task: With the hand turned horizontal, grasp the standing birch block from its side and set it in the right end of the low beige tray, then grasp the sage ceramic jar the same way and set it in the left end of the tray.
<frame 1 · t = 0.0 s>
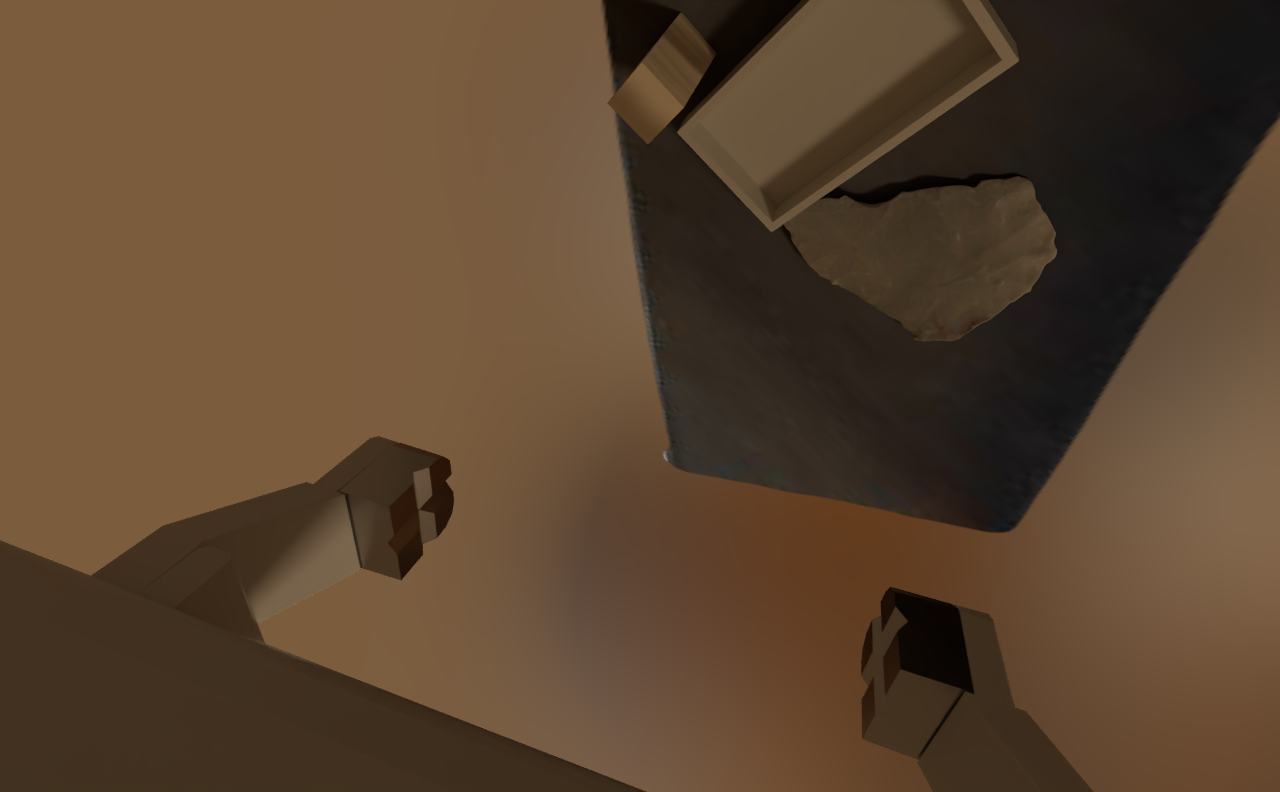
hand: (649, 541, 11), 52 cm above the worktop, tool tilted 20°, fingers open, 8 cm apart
stone tool: (906, 241, 61), on the worktop
beige tray: (831, 83, 52), on the worktop
birch block: (682, 52, 54), on the worktop
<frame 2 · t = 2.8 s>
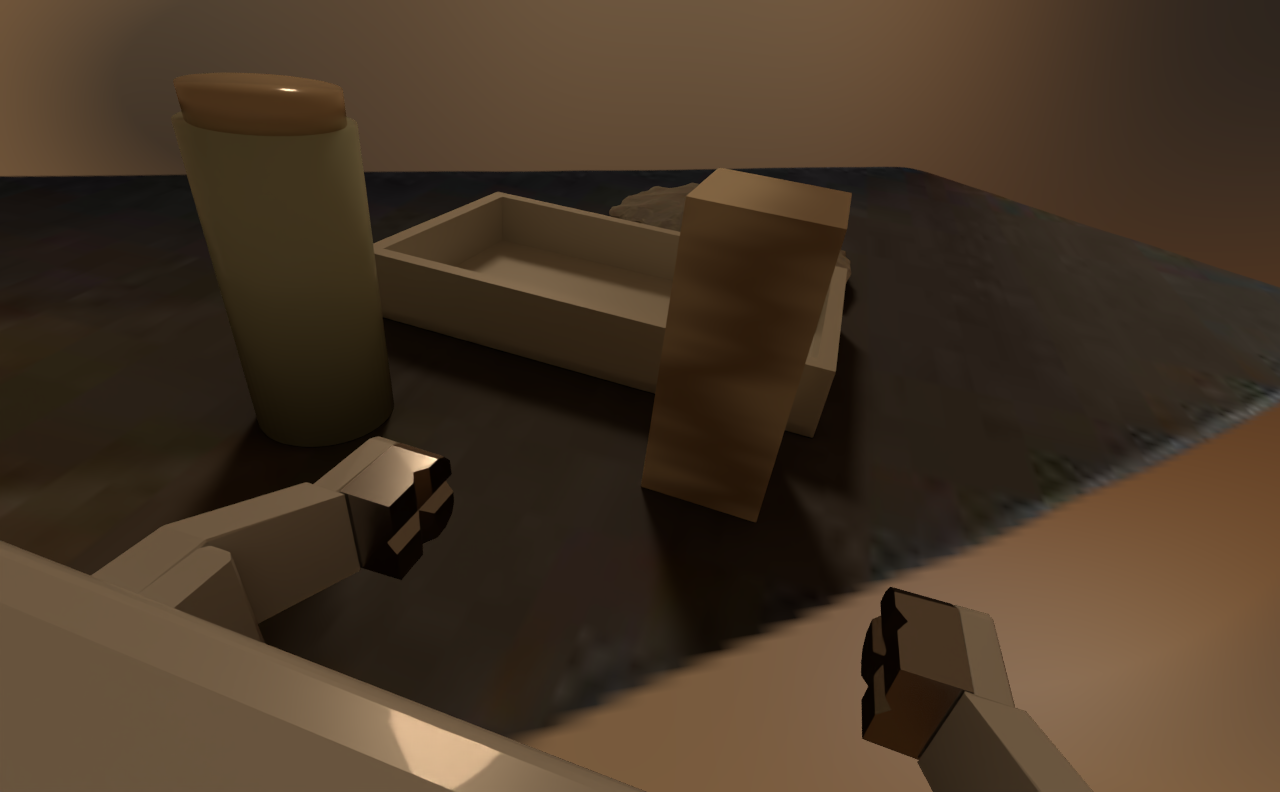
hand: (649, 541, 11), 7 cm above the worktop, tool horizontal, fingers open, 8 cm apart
stone tool: (739, 253, 49), on the worktop
beige tray: (619, 317, 35), on the worktop
birch block: (710, 468, 24), on the worktop
sage jar: (328, 408, 25), on the worktop
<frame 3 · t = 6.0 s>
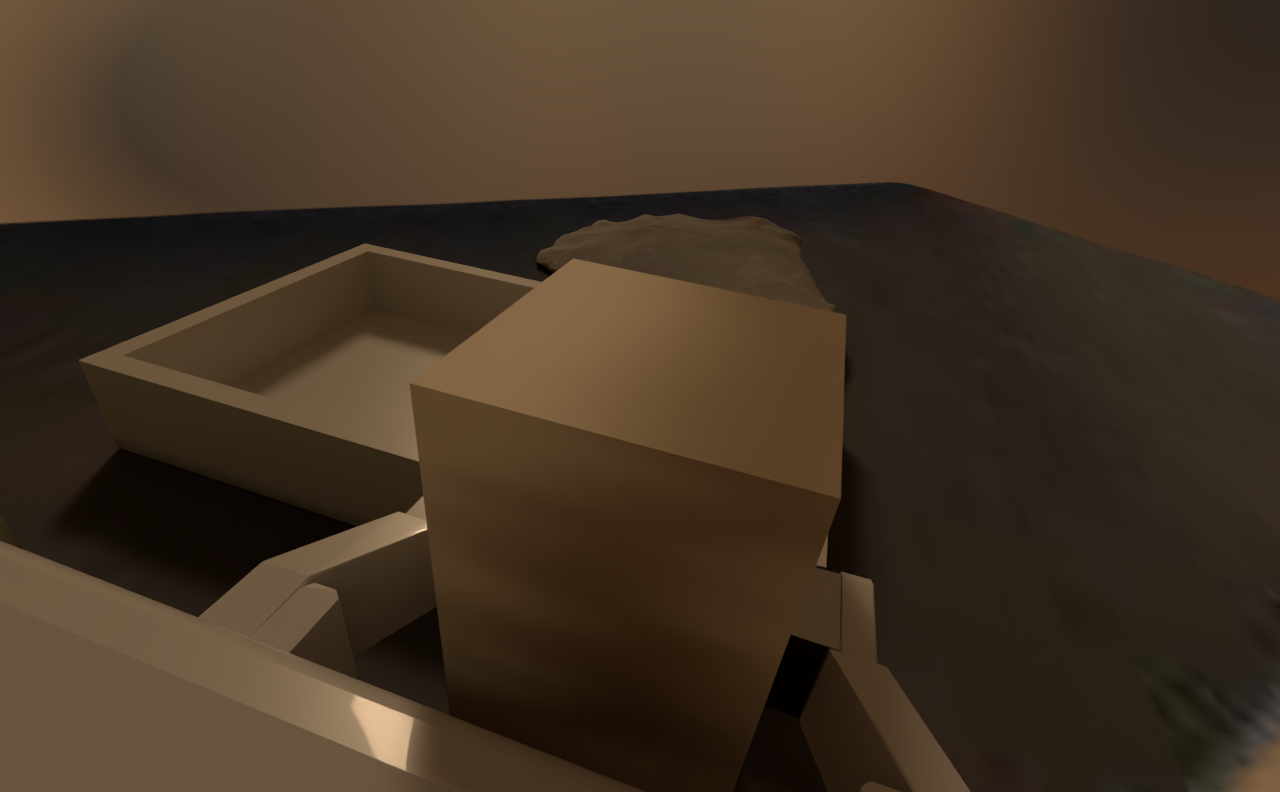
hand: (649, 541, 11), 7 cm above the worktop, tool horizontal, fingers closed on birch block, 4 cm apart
stone tool: (700, 307, 38), on the worktop
beige tray: (514, 428, 24), on the worktop
birch block: (607, 773, 14), on the worktop, touching gripper
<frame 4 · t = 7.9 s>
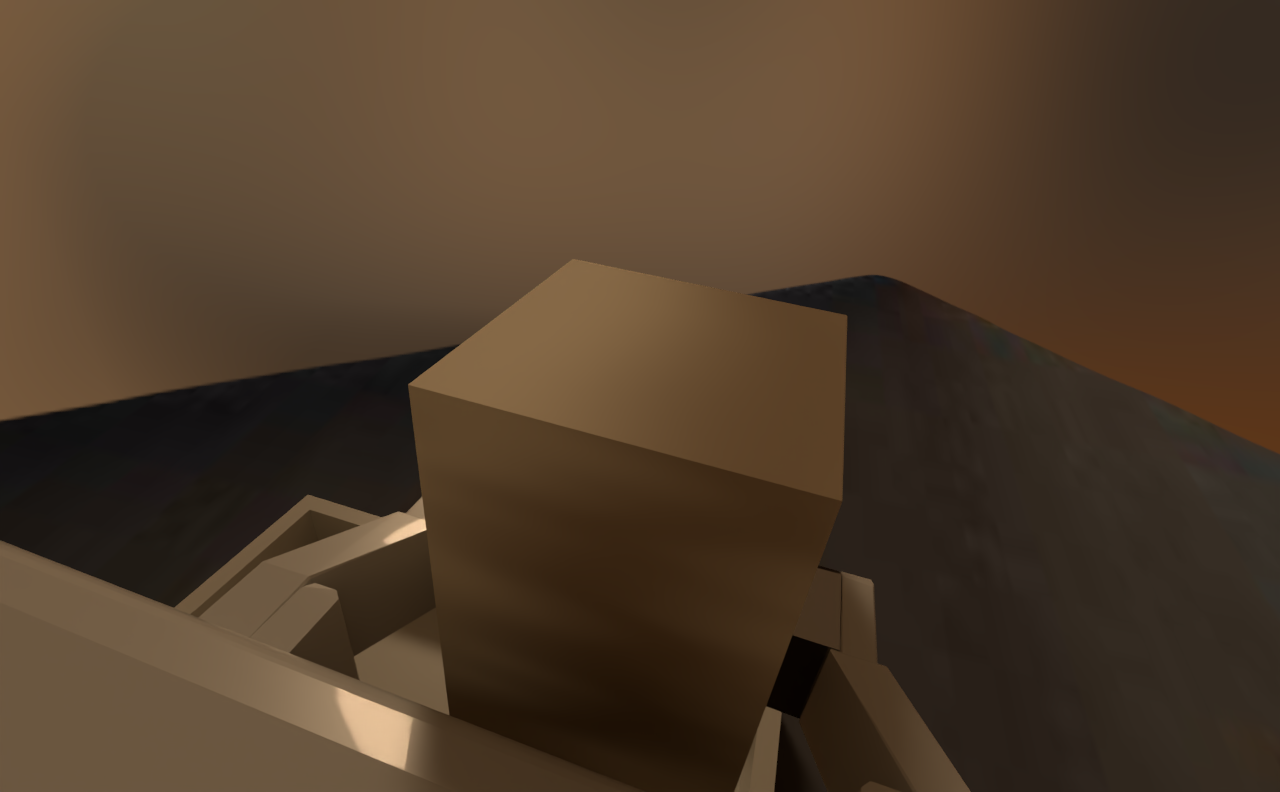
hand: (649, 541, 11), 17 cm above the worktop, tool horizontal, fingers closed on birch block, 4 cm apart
beige tray: (452, 749, 23), on the worktop
birch block: (607, 775, 14), point 10 cm above the worktop, touching gripper
when the fingers open (9 cm above the worktop, at t = 10.1 s): birch block drops 1 cm, resting on beige tray.
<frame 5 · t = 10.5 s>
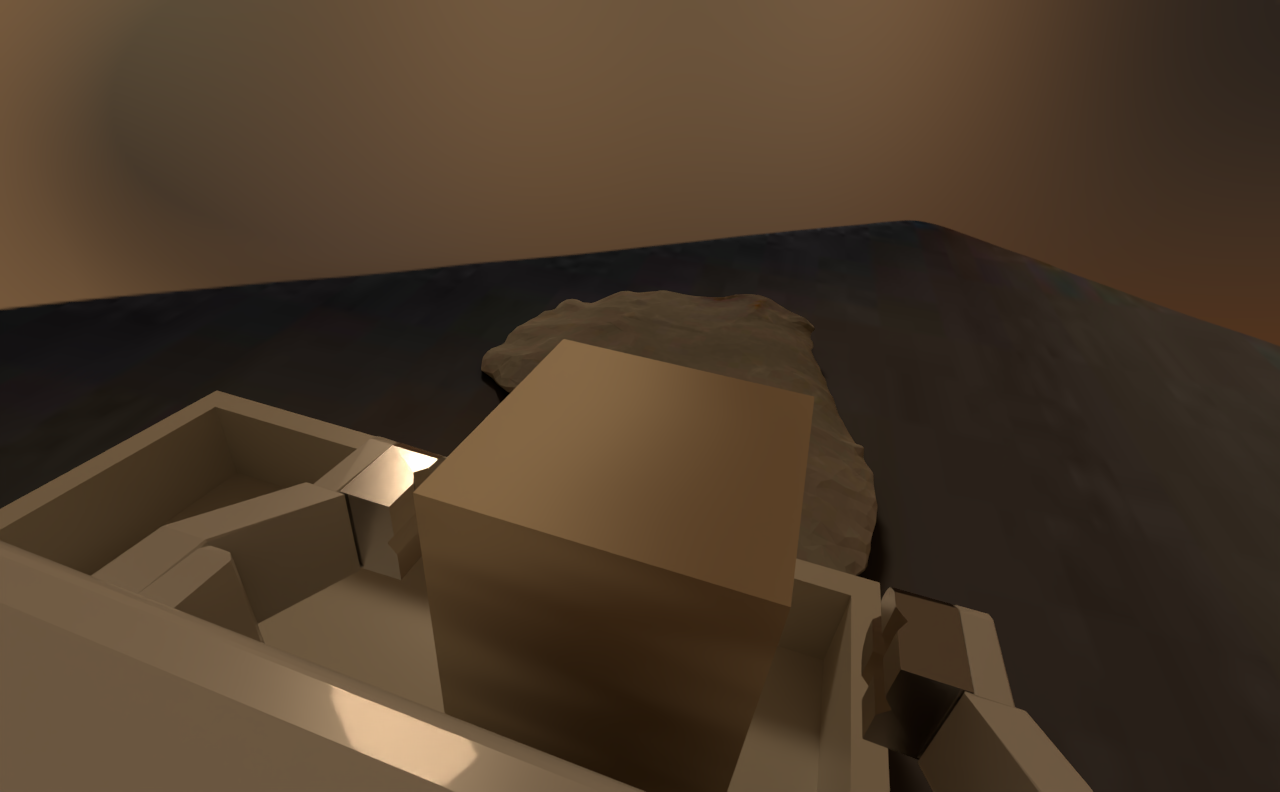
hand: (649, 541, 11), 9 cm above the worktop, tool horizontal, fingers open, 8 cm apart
stone tool: (687, 431, 30), on the worktop
beige tray: (389, 729, 16), on the worktop
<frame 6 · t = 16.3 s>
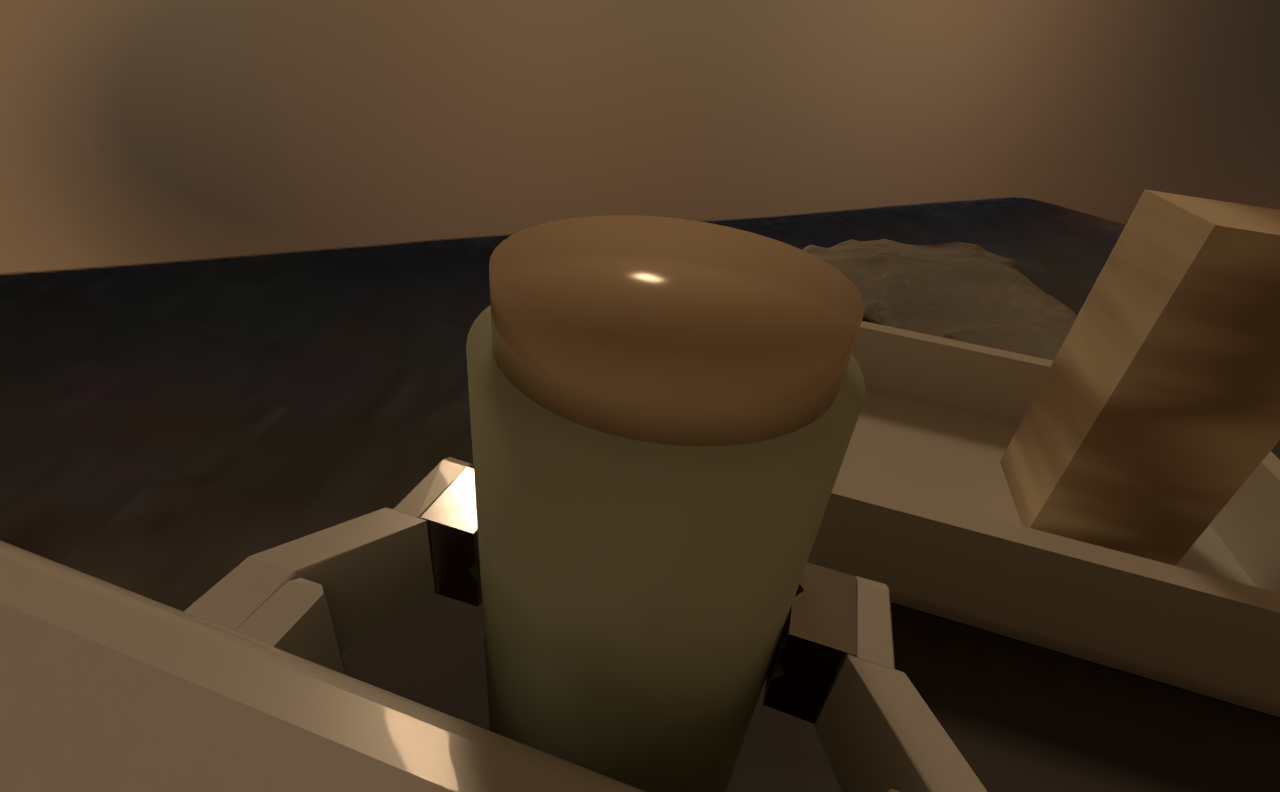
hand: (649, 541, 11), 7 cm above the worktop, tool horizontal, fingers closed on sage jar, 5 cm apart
stone tool: (951, 337, 38), on the worktop
beige tray: (906, 478, 24), on the worktop
birch block: (1075, 511, 23), resting on beige tray
sage jar: (607, 774, 14), on the worktop, touching gripper
when the fingers open (9 cm above the worktop, at t = 20.7 s): sage jar drops 1 cm, resting on beige tray.
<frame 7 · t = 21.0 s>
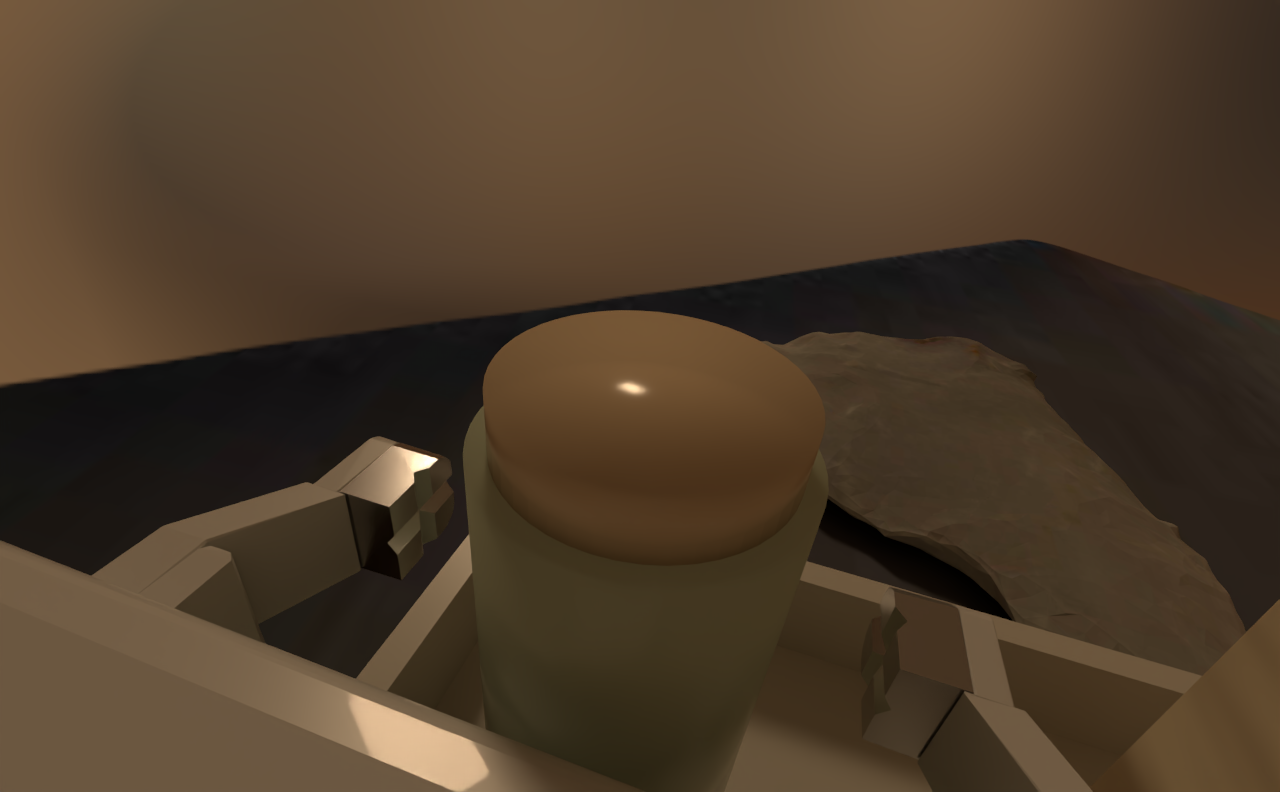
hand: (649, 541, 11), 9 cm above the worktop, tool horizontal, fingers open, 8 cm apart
stone tool: (942, 497, 28), on the worktop
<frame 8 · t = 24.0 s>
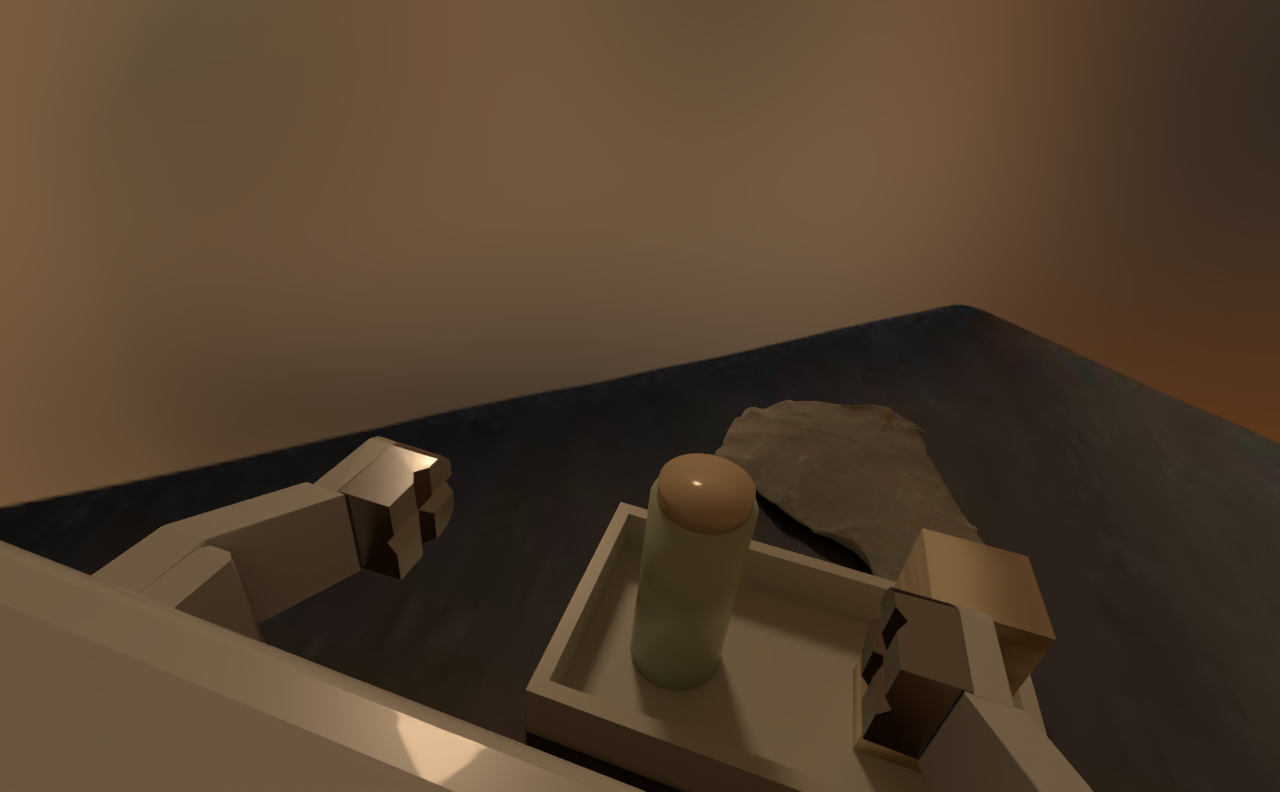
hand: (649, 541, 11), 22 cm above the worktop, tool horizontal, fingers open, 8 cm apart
stone tool: (855, 510, 47), on the worktop
beige tray: (780, 688, 33), on the worktop
birch block: (897, 722, 31), resting on beige tray
sage jar: (674, 648, 33), point 1 cm above the worktop, touching beige tray
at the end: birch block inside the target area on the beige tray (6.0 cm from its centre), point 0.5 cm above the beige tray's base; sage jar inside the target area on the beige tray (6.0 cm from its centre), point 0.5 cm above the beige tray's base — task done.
